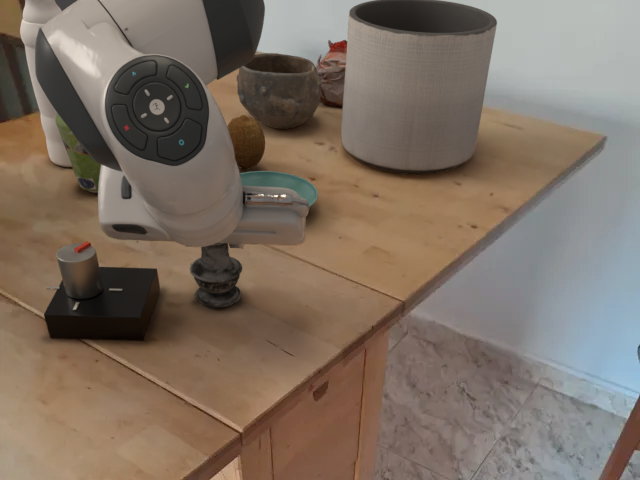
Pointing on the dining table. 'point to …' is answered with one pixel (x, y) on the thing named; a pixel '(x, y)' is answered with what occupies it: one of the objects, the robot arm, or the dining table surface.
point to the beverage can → (79, 159)
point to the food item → (333, 73)
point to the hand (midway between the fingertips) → (214, 240)
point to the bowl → (279, 89)
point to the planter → (415, 83)
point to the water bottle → (34, 17)
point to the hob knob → (80, 270)
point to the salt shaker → (216, 276)
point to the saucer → (281, 183)
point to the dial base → (107, 307)
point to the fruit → (247, 141)
